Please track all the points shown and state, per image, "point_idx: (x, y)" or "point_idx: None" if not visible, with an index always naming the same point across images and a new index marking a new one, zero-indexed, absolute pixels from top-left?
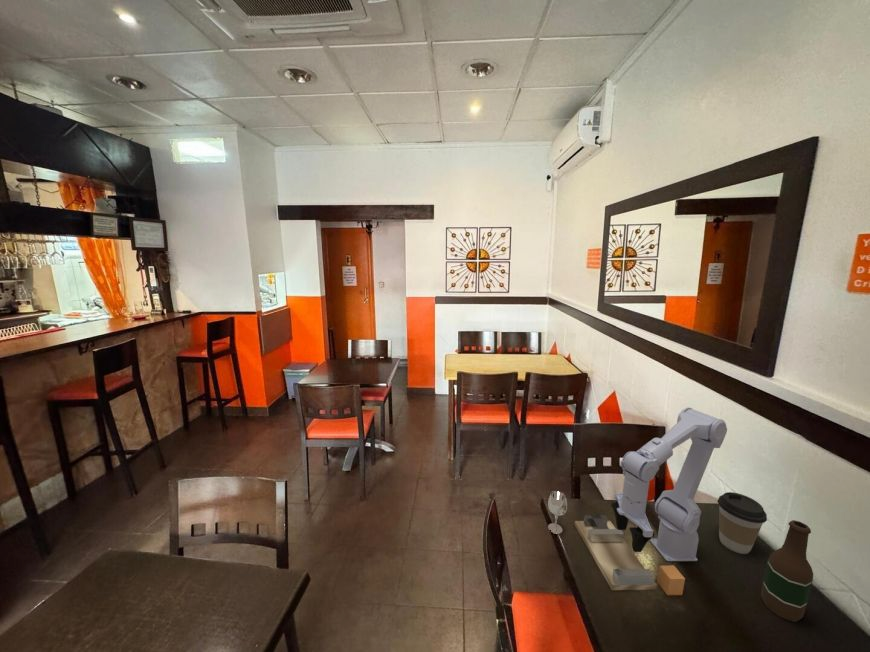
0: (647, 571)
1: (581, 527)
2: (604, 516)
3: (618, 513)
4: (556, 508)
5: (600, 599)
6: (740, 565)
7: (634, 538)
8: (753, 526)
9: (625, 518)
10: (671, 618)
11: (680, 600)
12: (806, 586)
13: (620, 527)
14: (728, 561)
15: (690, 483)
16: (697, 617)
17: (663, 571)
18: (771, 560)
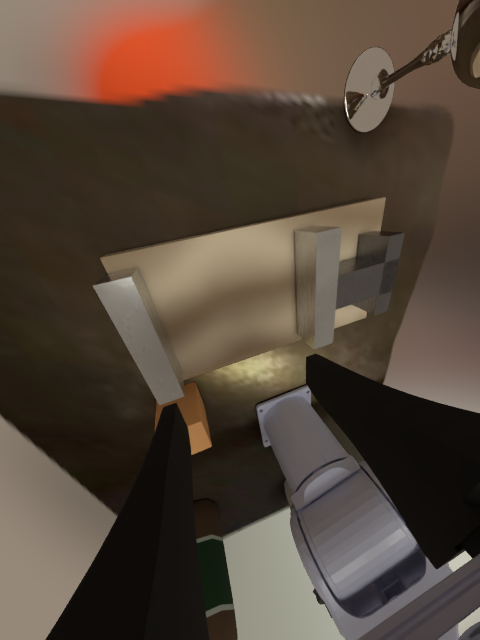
0: (168, 389)
1: (357, 215)
2: (383, 306)
3: (411, 443)
4: None
5: (24, 187)
6: (262, 482)
7: (99, 567)
8: None
9: (358, 435)
10: (76, 393)
11: (151, 414)
12: None
13: (315, 374)
14: (268, 472)
15: None
16: (113, 435)
17: None
18: (213, 634)
